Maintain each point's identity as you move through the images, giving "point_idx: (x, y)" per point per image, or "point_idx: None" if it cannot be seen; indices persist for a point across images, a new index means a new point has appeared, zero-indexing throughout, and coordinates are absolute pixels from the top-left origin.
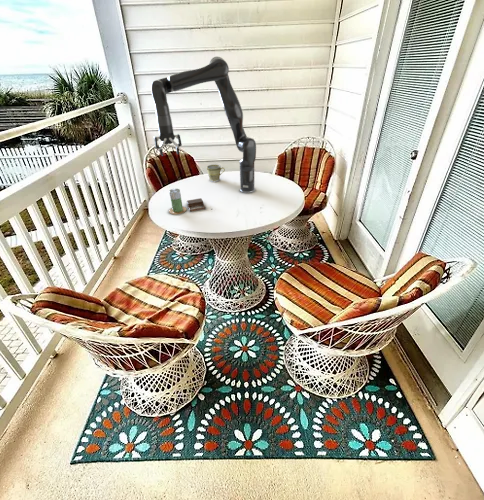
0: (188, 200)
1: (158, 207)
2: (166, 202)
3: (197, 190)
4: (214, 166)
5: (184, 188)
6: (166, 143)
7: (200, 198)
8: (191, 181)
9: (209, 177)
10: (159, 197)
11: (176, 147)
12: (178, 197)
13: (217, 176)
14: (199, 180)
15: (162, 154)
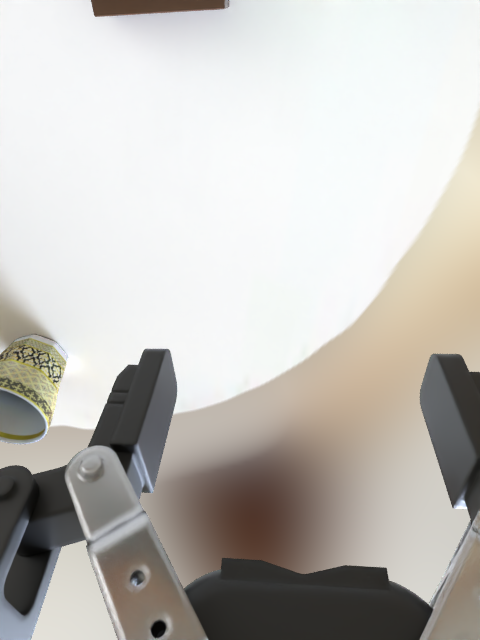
0: (208, 4)
1: (462, 49)
2: (376, 131)
3: (141, 256)
4: (8, 430)
5: (220, 312)
6: (362, 592)
7: (100, 10)
8: None
9: (61, 368)
10: (397, 239)
11: (133, 461)
12: None
13: (5, 353)
14: None
15: (455, 372)
